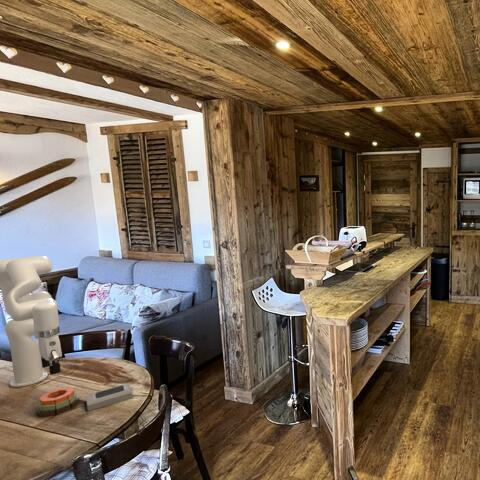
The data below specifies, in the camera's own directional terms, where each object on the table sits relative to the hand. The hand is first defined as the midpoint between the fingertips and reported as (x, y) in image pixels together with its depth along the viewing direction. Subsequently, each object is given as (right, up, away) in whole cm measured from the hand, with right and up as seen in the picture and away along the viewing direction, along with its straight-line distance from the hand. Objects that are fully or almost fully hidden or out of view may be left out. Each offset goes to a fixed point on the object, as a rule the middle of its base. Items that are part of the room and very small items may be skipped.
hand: (51, 369), depth 151 cm
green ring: (+4, -14, -1) cm, 14 cm away
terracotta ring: (+4, -12, -1) cm, 12 cm away
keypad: (+20, -16, +6) cm, 26 cm away
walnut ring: (+4, -16, -1) cm, 16 cm away
